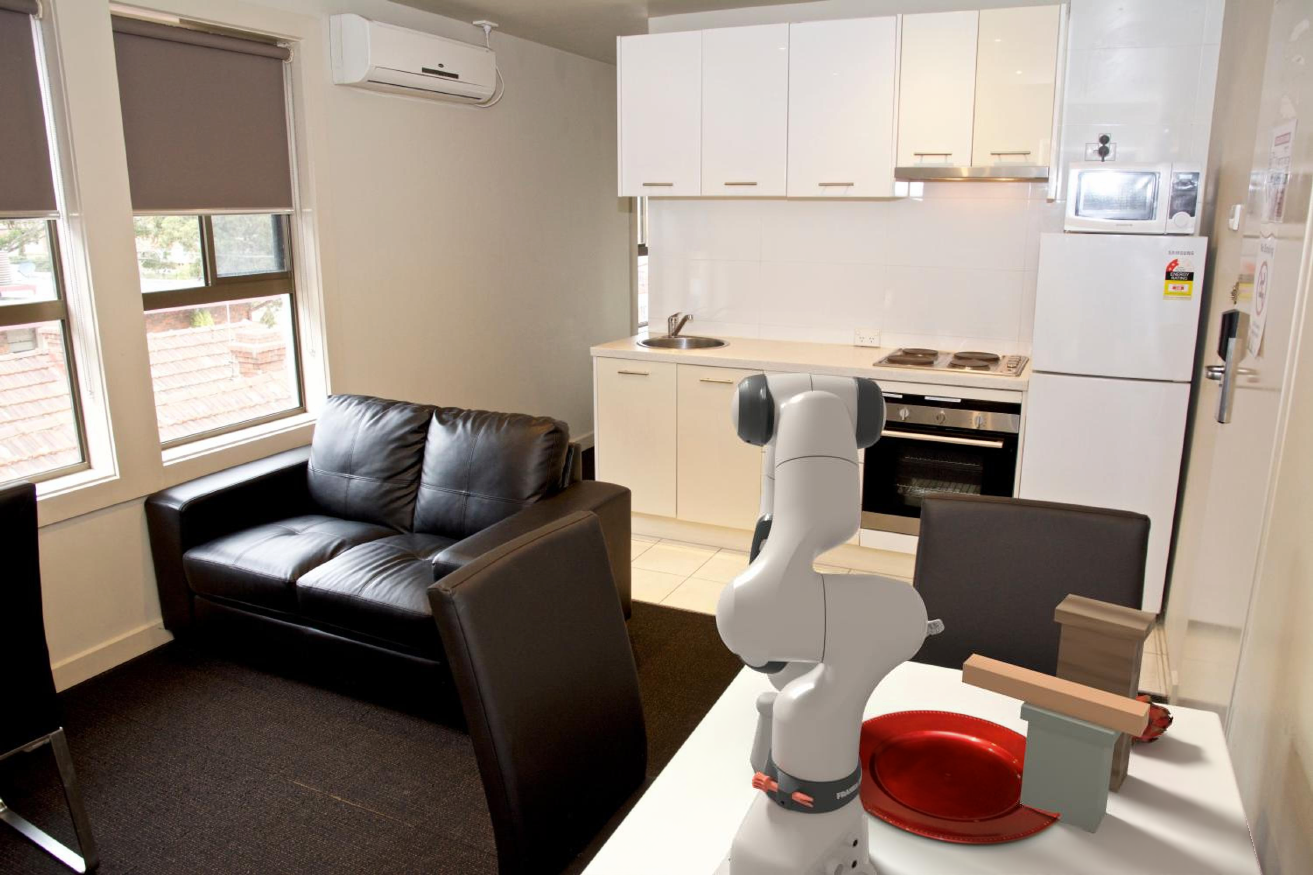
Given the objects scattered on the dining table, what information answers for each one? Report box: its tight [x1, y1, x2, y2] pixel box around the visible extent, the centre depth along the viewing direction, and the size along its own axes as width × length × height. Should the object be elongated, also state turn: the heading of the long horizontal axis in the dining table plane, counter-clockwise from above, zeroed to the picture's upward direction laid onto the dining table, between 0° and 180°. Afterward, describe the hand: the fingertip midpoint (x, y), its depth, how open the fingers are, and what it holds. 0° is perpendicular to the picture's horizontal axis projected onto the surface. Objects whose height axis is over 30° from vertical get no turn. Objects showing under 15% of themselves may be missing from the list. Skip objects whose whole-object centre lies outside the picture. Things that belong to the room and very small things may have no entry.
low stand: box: [1019, 701, 1122, 834], centre depth 133 cm, size 7×12×16 cm, turn 51°
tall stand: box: [1053, 593, 1157, 793], centre depth 141 cm, size 7×12×26 cm, turn 51°
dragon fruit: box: [1131, 694, 1174, 745], centre depth 153 cm, size 8×8×12 cm
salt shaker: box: [749, 691, 780, 775], centre depth 142 cm, size 6×6×13 cm
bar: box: [961, 653, 1150, 737], centre depth 133 cm, size 4×24×3 cm, turn 51°
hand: (928, 635), depth 144 cm, fingers open, 8 cm apart
